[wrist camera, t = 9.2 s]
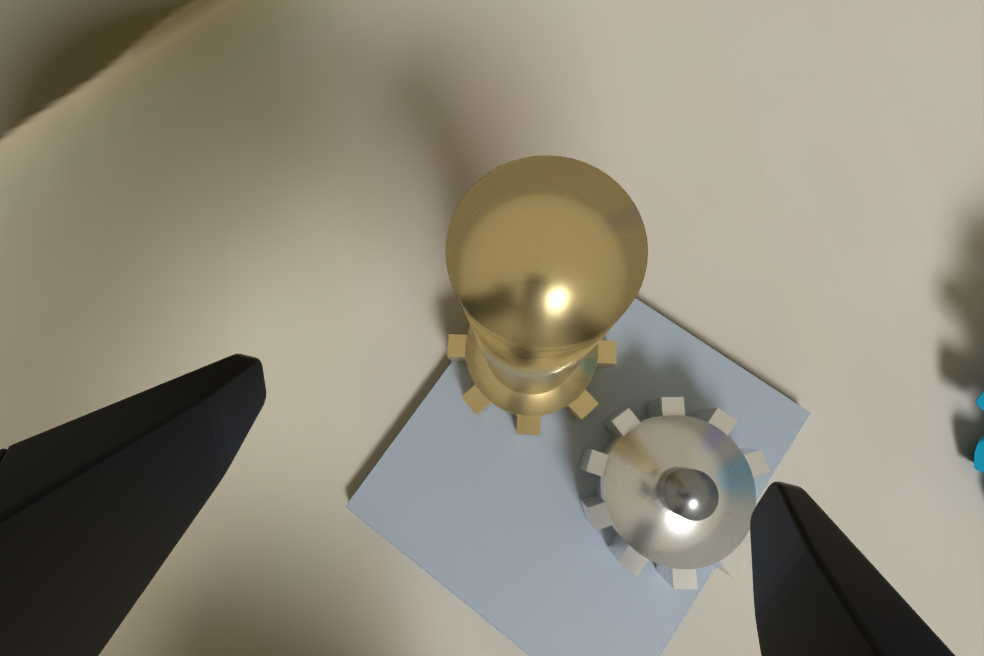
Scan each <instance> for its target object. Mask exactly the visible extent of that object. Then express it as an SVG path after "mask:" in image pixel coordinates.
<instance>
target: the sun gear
mask: <svg viewBox="0 0 984 656" xmlns="http://www.w3.org/2000/svg"><path fill="white" fill-rule="evenodd" d="M647 415H648V418H645V419H640V420H638V419H637V417H636V416H635V415H634V413H633V412H632V411H631V410H630V408H626V409H622V410H618V411H617V412H615V413H614V414H613V415H611V416H610V417H609V418H607V419H606V420H605V421H603V422H602V423H603V424H604V425H605V427H606V428H607V429H608V431H609V432H610V433H611V435H612V437H611V438H610V440H609V441H608V442H607V443H606V445H605V447H604V448H603V450H602V452H599V451H596V450H592V449H588V448H585V449H584V452H583V456H582V459H581V463H580V467H579V468H581V469H583V470H585V471H587V472H590V473H593V474H595V488H596V495H594V496H591V497H588V498H585V499H582V500H580V501H581V503H582V506H583V509H584V512H585V515H586V518H587V520H588V522H589V523H590V524H591V526H592V527H593V528H594V529H595V531H596V530H599V529H602V528H605V527H608V526H611V527H612V528H613V529H614V530H615V531H616V532H617V534H616V535H615V537H614V538H613V540H612V541H611V543H610V544H609V546H608V547H607V548H608V549H609V551H610V552H611V553H612V554H613V556H614V557H615V558H616V560H617V561H618V562H619V563H620V564H622V565H623V566H624V567H626V568H627V569H628V570H630V571H631V572H632V573H634V574H635V575H636V576H638V575H639V574H640V572H641V571H642V569H643V568H644V566H645V564H646V563H647V561H648V560H650V561H652V562H654V563H656V570H657V573H658V574H659V575H660V576H661V577H662V578H663V579H664V580H665V581H666V582H667V583H668V584H669V585H670V586H671V587H672V588H673V589H698V588H697V574H696V569H698V568H702V567H707V566H709V565H712V564H713V565H714V566H716V567H717V568H719V569H720V570H722V571H723V572H725V573H726V574H728V575H729V576H731V577H734V576H735V575H736V574H737V573H739V572H740V571H741V570H742V569H744V568H745V567H746V566H747V565H749V564H750V562H749V561H748V559H747V558H746V557H745V556H744V554H743V553H742V552H741V550H740V549H739V548H738V546H739V545H740V543H741V542H742V541H743V539H744V538H745V536H746V534H747V532H748V531H749V529H750V520H751V515H752V512H753V510H754V509H755V507H756V506H757V504H758V503H756V489H755V483H754V477H757V476H759V475H762V474H765V473H768V472H770V469H769V467H768V464H767V462H766V460H765V457H764V455H763V453H762V450H760V449H745V448H739V447H738V446H737V445H736V444H735V442H734V441H733V440H732V439H731V438H730V437H728V435H729V433H730V432H731V430H732V428H733V427H734V425H735V424H736V422H737V420H736V419H734V418H733V417H731V416H730V415H728V414H727V413H725V412H724V411H722V410H721V409H719V408H711V409H703V410H697V411H696V413H695V414H694V416H693V417H689V416H685V407H684V397H660V398H656V399H652V400H648V401H647Z"/></svg>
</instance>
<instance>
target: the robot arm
mask: <svg viewBox="0 0 984 656" xmlns="http://www.w3.org/2000/svg"><path fill="white" fill-rule="evenodd" d="M265 399H266V387H265V380H264V374H263V367H262V363H261V361H260V360H259V359H258V358H256V357H251V356H247V355H243V354H234V355H231V356H229V357H227V358H224V359H222V360H219V361H217V362H214V363H212V364H209V365H207V366H204V367H202V368H200V369H197V370H195V371H192V372H190V373H187V374H185V375H182V376H180V377H178V378H175V379H173V380H170V381H168V382H165V383H163V384H160V385H158V386H155V387H153V388H151V389H148V390H146V391H143V392H141V393H138V394H136V395H133V396H131V397H128V398H126V399H124V400H121V401H119V402H116V403H114V404H111V405H109V406H106V407H104V408H102V409H99V410H97V411H94V412H92V413H89V414H87V415H84V416H82V417H79V418H77V419H74V420H72V421H70V422H67V423H65V424H62V425H60V426H57V427H55V428H52V429H50V430H47V431H45V432H43V433H40V434H38V435H35V436H33V437H30V438H28V439H25V440H23V441H20V442H18V443H16V444H13V445H11V446H9V448H8V449H1V450H0V656H99V654H100V653H101V651H102V650H103V648H104V647H105V646H106V644H107V643H108V641H109V640H110V638H111V637H112V636H113V634H114V633H115V631H116V630H117V628H118V627H119V626H120V624H121V623H122V621H123V620H124V618H125V617H126V616H127V614H128V613H129V611H130V610H131V608H132V607H133V606H134V604H135V603H136V601H137V600H138V598H139V597H140V596H141V594H142V593H143V591H144V590H145V588H146V587H147V586H148V584H149V583H150V581H151V580H152V578H153V577H154V576H155V574H156V573H157V571H158V570H159V568H160V567H161V566H162V564H163V563H164V561H165V560H166V558H167V557H168V556H169V554H170V553H171V551H172V550H173V549H174V547H175V546H176V544H177V543H178V541H179V540H180V539H181V537H182V536H183V534H184V533H185V531H186V530H187V529H188V527H189V526H190V524H191V523H192V521H193V520H194V519H195V517H196V516H197V514H198V513H199V511H200V510H201V509H202V507H203V506H204V504H205V503H206V501H207V500H208V499H209V497H210V496H211V494H212V493H213V491H214V490H215V489H216V487H217V486H218V484H219V483H220V481H221V480H222V478H223V477H224V475H225V473H226V472H227V470H228V468H229V467H230V465H231V463H232V461H233V459H234V458H235V456H236V454H237V452H238V450H239V449H240V447H241V445H242V443H243V441H244V439H245V438H246V436H247V434H248V432H249V430H250V429H251V427H252V425H253V423H254V421H255V420H256V418H257V416H258V414H259V412H260V410H261V409H262V407H263V405H264V402H265ZM750 533H751V553H752V572H753V591H754V606H755V617H756V624H757V631H758V637H759V643H760V649H761V655H762V656H955V655H954V654H953V653H952V652H951V651H950V649H949V648H948V647H947V646H946V645H945V644H944V643H943V642H942V641H941V640H940V638H939V637H938V636H937V635H936V634H935V633H934V632H933V631H932V630H931V629H930V627H929V626H928V625H927V624H926V623H925V622H924V621H923V620H922V619H921V618H920V616H919V615H918V614H917V613H916V612H915V611H914V610H913V609H912V608H911V607H910V605H909V604H908V603H907V602H906V601H905V600H904V599H903V598H902V597H901V596H900V594H899V593H898V592H897V591H896V590H895V589H894V588H893V587H892V586H891V585H890V584H889V582H888V581H887V580H886V579H885V578H884V577H883V576H882V575H881V574H880V573H879V571H878V570H877V569H876V568H875V567H874V566H873V565H872V564H871V563H870V562H869V560H868V559H867V558H866V557H865V556H864V555H863V554H862V553H861V552H860V551H859V549H858V548H857V547H856V546H855V545H854V544H853V543H852V542H851V541H850V540H849V538H848V537H847V536H846V535H845V534H844V533H843V532H842V531H841V530H840V529H839V527H838V526H837V525H836V524H835V523H834V522H833V521H832V520H831V519H830V518H829V517H828V515H827V514H826V513H825V512H824V511H823V510H822V509H821V508H820V507H819V506H818V504H817V503H816V502H815V501H814V500H813V499H812V498H811V497H810V496H809V495H808V493H807V492H806V491H805V490H804V489H802V488H801V487H799V486H795V485H791V484H787V483H783V482H773V483H772V484H771V485H770V486H769V487H768V489H767V490H766V492H765V493H764V495H763V496H762V498H761V499H760V501H759V502H758V504H757V506H756V507H755V509H754V510H753V512H752V515H751V520H750Z"/></svg>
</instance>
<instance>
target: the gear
mask: <svg viewBox="0 0 984 656" xmlns="http://www.w3.org/2000/svg"><path fill="white" fill-rule="evenodd" d="M976 404H977V405H978V407H980V408H981V409H982V410H983V411H984V391H983V392H982V393H981V395H980V396H979V397H978V398H977V400H976ZM974 468H975V469H977V470H978V471H981V472H983V473H984V436H983V437H981V438H980V440H979V441H978V444H977V447H976V450H975V455H974Z"/></svg>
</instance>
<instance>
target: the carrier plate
mask: <svg viewBox="0 0 984 656" xmlns="http://www.w3.org/2000/svg"><path fill="white" fill-rule="evenodd" d="M601 340H609V341H617V350H616V364H615V365H614V366H613V367H611V368H597V367H596V370H595V372H594V375H593V378H592V379H591V381H590V383H589V385H588V386H587V388H586V390H587V392H588V393H589V394H590V395H591V396H592V397H593V398H594V399H595V400H596V401H597V402H598V403H599V404H598V405H597V406H596V407H595V408H594V409H593V410H592V411H591V412H590V413H589V414H588V415H587V416H585V417H584V418H583V419H582V420H579V421H578V420H577V419H576V418H575V417H574V416H573V415H572V414H571V413H570V412H569V410H568V409H567V408H566V407H565V408H563V409H561V410H559V411H557V412H555V413H552V414H549V415H545V416H541V423H540V435H528V434H516V431H517V415H514V414H511V413H508V412H506V411H503V410H502V409H500V408H498V407H496V406H495V405H494V404H491V405H490V406H489V407H488V408H487V409H486V410H485V411H484V412H483V413H482V414H481V415H479V416H478V415H476V414H475V413H474V411H473V410H472V409H471V408H470V407H469V406H468V405H467V404H466V402H465V401H464V400H463V399H462V398H461V397H462V396H463V395H464V394H465V393H466V392H467V391H468V390H469V389H471V388H472V387H473V386H474V385H475V383H474V381H473V380H472V378H471V375H470V373H469V370H468V367H467V363H466V362H457V361H452V362H451V364H450V365H449V366H448V368H447V369H446V370H445V372H444V373H443V374H442V376H441V377H440V379H439V380H438V381H437V383H436V384H435V385H434V387H433V388H432V389H431V391H430V392H429V393H428V395H427V396H426V398H425V399H424V400H423V402H422V403H421V404H420V406H419V407H418V408H417V410H416V411H415V412H414V414H413V415H412V417H411V418H410V419H409V421H408V422H407V423H406V425H405V426H404V427H403V429H402V430H401V431H400V433H399V434H398V436H397V437H396V438H395V440H394V441H393V442H392V444H391V445H390V446H389V448H388V449H387V450H386V452H385V453H384V455H383V456H382V457H381V459H380V460H379V461H378V463H377V464H376V465H375V467H374V468H373V469H372V471H371V472H370V474H369V475H368V476H367V478H366V479H365V480H364V482H363V483H362V484H361V486H360V487H359V488H358V490H357V491H356V492H355V494H354V495H353V497H352V498H351V499H350V501H349V502H348V503H347V505H346V506H345V507H347V508H348V509H349V510H350V511H351V512H353V513H354V514H355V515H356V516H358V517H359V518H360V519H361V520H363V521H364V522H365V523H366V524H368V525H369V526H370V527H371V528H372V529H374V530H375V531H376V532H377V533H379V534H380V535H381V536H382V537H384V538H385V539H386V540H387V541H389V542H390V543H391V544H392V545H393V546H395V547H396V548H397V549H398V550H400V551H401V552H402V553H403V554H405V555H406V556H407V557H408V558H410V559H411V560H412V561H413V562H414V563H416V564H417V565H418V566H419V567H421V568H422V569H423V570H424V571H426V572H427V573H428V574H429V575H431V576H432V577H433V578H434V579H435V580H437V581H438V582H439V583H440V584H442V585H443V586H444V587H445V588H447V589H448V590H449V591H450V592H452V593H453V594H454V595H455V596H456V597H458V598H459V599H460V600H461V601H463V602H464V603H465V604H466V605H468V606H469V607H470V608H471V609H473V610H474V611H475V612H476V613H478V614H479V615H480V616H481V617H482V618H484V619H485V620H486V621H487V622H489V623H490V624H491V625H492V626H494V627H495V628H496V629H497V630H499V631H500V632H501V633H502V634H503V635H505V636H506V637H507V638H508V639H510V640H511V641H512V642H513V643H515V644H516V645H517V646H518V647H520V648H521V649H522V650H523V651H524V652H526V653H527V654H528V655H529V656H660V655H661V653H662V652H663V650H664V649H665V647H666V645H667V644H668V642H669V641H670V639H671V637H672V636H673V634H674V632H675V631H676V629H677V628H678V626H679V624H680V623H681V621H682V620H683V618H684V616H685V615H686V613H687V611H688V610H689V608H690V607H691V605H692V603H693V602H694V600H695V599H696V597H697V595H698V594H699V592H700V591H701V589H702V587H703V586H704V584H705V582H706V581H707V579H708V578H709V576H710V574H711V573H712V571H713V570H714V568H715V566H714V565H713V564H712V565H709V566H707V567H702V568H698V569H696V574H697V588H698V589H673V588H672V587H671V586H670V585H669V584H668V583H667V582H666V581H665V580H664V579H663V578H662V577H661V576H660V575H659V574H658V573H657V570H656V563H654V562H652V561H650V560H648V561H647V563H646V564H645V566H644V568H643V569H642V571H641V572H640V574H639V575H638V576H636V575H635V574H634V573H632V572H631V571H630V570H628V569H627V568H626V567H624V566H623V565H622V564H620V563H619V562H618V561H617V560H616V558H615V557H614V556H613V554H612V553H611V552H610V551H609V549H608V548H607V547H608V546H609V544H610V543H611V541H612V540H613V538H614V537H615V535H616V534H617V532H616V531H615V530H614V529H613V528H612V527H611V526H608V527H605V528H602V529H599V530H596V531H595V529H594V528H593V527H592V526H591V524H590V523H589V522H588V520H587V518H586V515H585V512H584V509H583V506H582V503H581V501H580V500H582V499H585V498H588V497H591V496H594V495H596V488H595V474H593V473H590V472H587V471H585V470H583V469H581V468H579V467H580V463H581V459H582V456H583V452H584V449H585V448H588V449H592V450H596V451H599V452H602V450H603V448H604V447H605V445H606V443H607V442H608V441H609V440H610V438H611V437H612V435H611V433H610V432H609V431H608V429H607V428H606V427H605V425H604V424H603V423H602V422H603V421H605V420H606V419H607V418H609V417H610V416H611V415H613V414H614V413H615V412H617V411H618V410H622V409H626V408H630V410H631V411H632V412H633V413H634V415H635V416H636V417H637V419H638V420H640V419H645V418H648V415H647V401H648V400H652V399H656V398H660V397H684V407H685V416H689V417H693V416H694V414H695V413H696V411H697V410H703V409H711V408H719V409H721V410H722V411H724V412H725V413H727V414H728V415H730V416H731V417H733V418H734V419H736V420H737V422H736V424H735V425H734V427H733V428H732V430H731V432H730V433H729V435H728V437H730V438H731V439H732V440H733V441H734V442H735V444H736V445H737V446H738V447H739V448H745V449H760V450H762V453H763V455H764V457H765V460H766V462H767V464H768V467H769V469H770V472H768V473H765V474H762V475H759V476H757V477H754V483H755V489H756V500H757V499H758V497H759V495H760V494H761V492H762V490H763V489H764V487H765V486H766V484H767V482H768V481H769V479H770V478H771V476H772V474H773V473H774V471H775V470H776V468H777V466H778V465H779V463H780V461H781V460H782V458H783V457H784V455H785V453H786V452H787V450H788V449H789V447H790V445H791V444H792V442H793V440H794V439H795V437H796V436H797V434H798V432H799V431H800V429H801V428H802V426H803V424H804V423H805V421H806V419H807V418H808V416H809V415H810V412H809V411H807V410H805V409H804V408H802V407H801V406H799V405H798V404H796V403H795V402H793V401H792V400H790V399H789V398H787V397H786V396H784V395H783V394H781V393H780V392H778V391H777V390H775V389H773V388H772V387H770V386H769V385H767V384H766V383H764V382H763V381H761V380H760V379H758V378H757V377H755V376H754V375H752V374H751V373H749V372H748V371H746V370H745V369H743V368H741V367H740V366H738V365H737V364H735V363H734V362H732V361H731V360H729V359H728V358H726V357H725V356H723V355H722V354H720V353H719V352H717V351H716V350H714V349H713V348H711V347H710V346H708V345H706V344H705V343H703V342H702V341H700V340H699V339H697V338H696V337H694V336H693V335H691V334H690V333H688V332H687V331H685V330H684V329H682V328H681V327H679V326H678V325H676V324H674V323H673V322H671V321H670V320H668V319H667V318H665V317H664V316H662V315H661V314H659V313H658V312H656V311H655V310H653V309H652V308H650V307H649V306H647V305H646V304H644V303H642V302H641V301H639V300H638V299H636V298H635V299H634V301H633V302H632V304H631V305H630V306H629V308H628V309H627V311H626V312H625V313H624V314H623V315H622V316H621V317H620V319H619V320H618V321H617V322H616V323H615V324H614V325H613V327H612V328H611V329H610V330H609V331H608V332H607V333H606V335H605V336H604V337H603V338H602V339H601Z"/></svg>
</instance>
